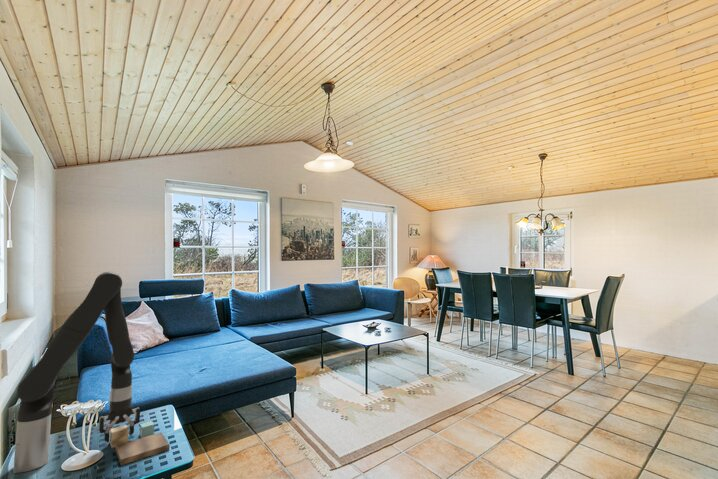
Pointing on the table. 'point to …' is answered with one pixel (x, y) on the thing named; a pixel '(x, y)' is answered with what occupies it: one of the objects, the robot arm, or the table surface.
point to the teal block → (146, 429)
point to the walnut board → (141, 448)
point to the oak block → (118, 435)
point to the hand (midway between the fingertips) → (119, 438)
